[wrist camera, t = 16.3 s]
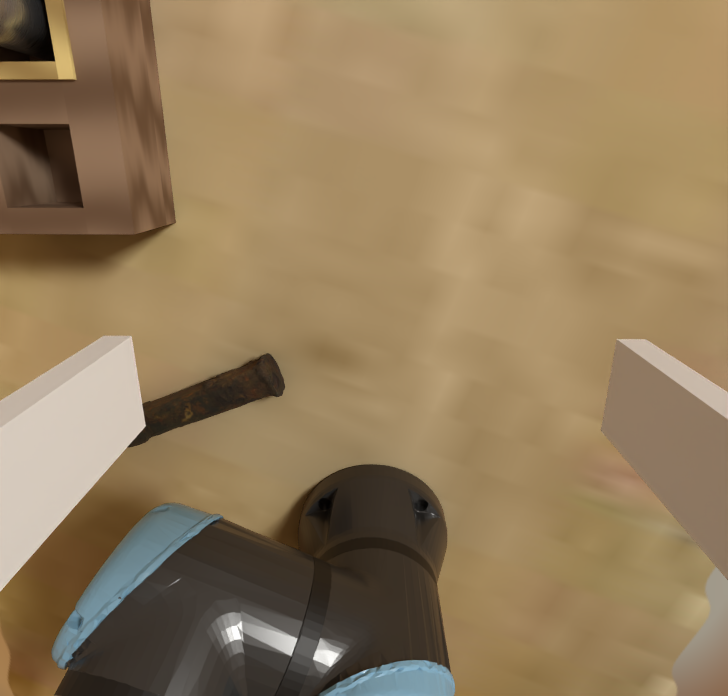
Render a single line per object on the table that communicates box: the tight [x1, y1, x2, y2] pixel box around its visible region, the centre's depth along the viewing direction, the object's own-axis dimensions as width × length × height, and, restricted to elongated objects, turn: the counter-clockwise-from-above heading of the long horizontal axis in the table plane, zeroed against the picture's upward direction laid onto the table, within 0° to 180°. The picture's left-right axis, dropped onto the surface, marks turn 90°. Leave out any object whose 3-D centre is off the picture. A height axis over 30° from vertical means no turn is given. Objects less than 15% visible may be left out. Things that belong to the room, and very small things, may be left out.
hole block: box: [0, 0, 176, 234], centre depth 37 cm, size 18×12×8 cm, turn 0°
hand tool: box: [128, 354, 285, 447], centre depth 48 cm, size 19×4×5 cm, turn 109°
